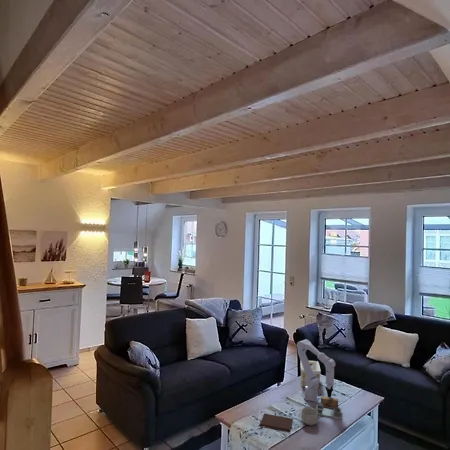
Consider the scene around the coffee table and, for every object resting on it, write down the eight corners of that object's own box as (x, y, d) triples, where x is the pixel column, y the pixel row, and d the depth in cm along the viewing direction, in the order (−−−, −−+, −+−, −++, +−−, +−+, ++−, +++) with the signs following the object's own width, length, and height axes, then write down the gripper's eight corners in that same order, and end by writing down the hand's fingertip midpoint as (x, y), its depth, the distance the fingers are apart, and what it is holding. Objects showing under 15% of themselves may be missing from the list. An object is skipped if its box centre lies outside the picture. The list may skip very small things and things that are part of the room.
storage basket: (299, 375, 310) (300, 359, 311) (318, 377, 307) (318, 360, 307) (300, 387, 287) (300, 369, 287) (320, 389, 284) (321, 371, 284)
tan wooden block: (320, 406, 256) (320, 398, 256) (321, 403, 260) (321, 395, 260) (337, 409, 252) (337, 401, 252) (338, 407, 256) (338, 398, 256)
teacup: (314, 429, 226) (315, 416, 226) (298, 424, 231) (299, 412, 232) (321, 419, 237) (321, 407, 238) (305, 415, 243) (305, 403, 243)
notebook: (264, 415, 242) (264, 412, 242) (292, 420, 236) (292, 417, 236) (259, 426, 228) (259, 423, 228) (289, 432, 222) (289, 429, 222)
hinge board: (314, 414, 244) (314, 409, 244) (316, 407, 253) (316, 402, 254) (341, 419, 238) (341, 414, 238) (342, 412, 247) (342, 407, 247)
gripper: (335, 381, 248) (334, 400, 248) (335, 373, 262) (335, 391, 262) (324, 379, 251) (324, 398, 250) (326, 372, 264) (326, 389, 264)
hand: (329, 394), depth 256 cm, fingers open, 7 cm apart
